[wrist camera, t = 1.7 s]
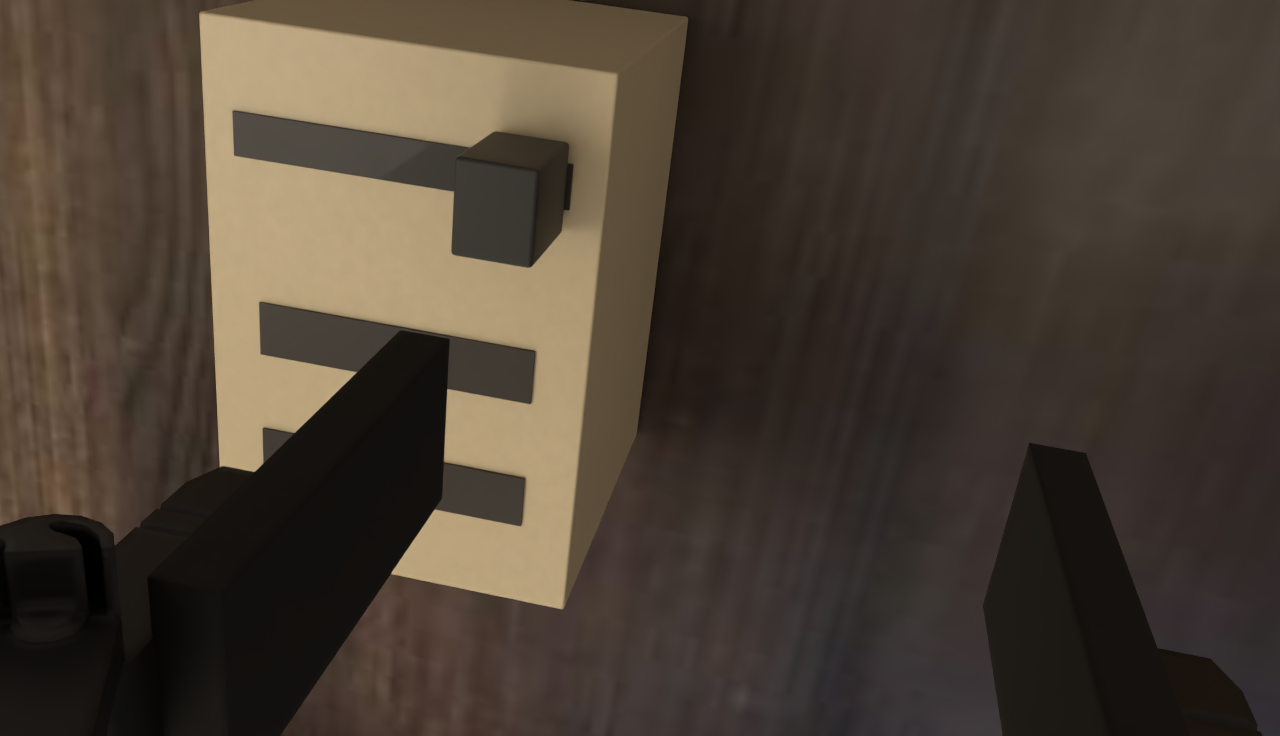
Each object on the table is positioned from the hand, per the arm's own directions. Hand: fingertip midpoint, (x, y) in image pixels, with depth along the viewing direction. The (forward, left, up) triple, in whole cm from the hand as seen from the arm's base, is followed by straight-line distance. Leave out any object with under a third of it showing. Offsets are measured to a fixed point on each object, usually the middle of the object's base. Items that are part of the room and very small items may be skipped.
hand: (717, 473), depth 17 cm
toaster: (+5, -10, -25) cm, 28 cm away
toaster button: (0, -7, -13) cm, 15 cm away
